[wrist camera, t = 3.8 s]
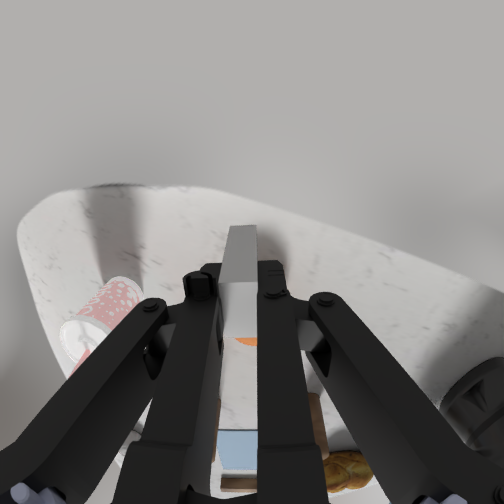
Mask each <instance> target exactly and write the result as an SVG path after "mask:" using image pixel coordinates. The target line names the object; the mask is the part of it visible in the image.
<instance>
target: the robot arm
mask: <svg viewBox="0 0 504 504" xmlns="http://www.w3.org/2000/svg"><path fill="white" fill-rule="evenodd" d="M183 285H184V291H185V296H186V297H185V299H184V302H183V303H180V304H177V305H172V306H167V305H166V302H165V301H164V300H163V299H160V298H148V299H145V300H143V301H141V302H139V303H138V304H137V305H136V306H135V307H134V308H133V309H132V310H131V311H130V312H129V313H128V314H127V315H126V316H125V317H124V318H123V320H122V321H121V322H120V323H119V324H118V325H117V326H116V327H115V328H114V329H113V330H112V331H111V332H110V333H109V334H108V336H107V337H106V338H105V339H104V340H103V341H102V342H101V343H100V344H99V345H98V346H97V347H96V349H95V350H94V351H93V352H92V353H91V354H90V355H89V356H88V357H87V358H86V359H85V361H84V362H83V363H82V364H81V365H80V366H79V367H78V368H77V369H76V371H75V372H74V373H73V374H72V375H71V376H70V377H69V378H68V380H67V381H66V382H65V383H64V384H63V385H62V386H61V388H60V389H59V390H58V391H57V392H56V393H55V394H54V396H53V397H52V398H51V399H50V400H49V401H48V403H47V404H46V405H45V406H44V407H43V408H42V410H41V411H40V412H39V413H38V414H37V416H36V417H35V418H34V419H33V420H32V422H31V423H30V424H29V425H28V426H27V428H26V429H25V430H24V431H23V432H22V434H21V435H20V436H19V437H18V439H17V440H16V441H15V442H14V443H12V444H11V445H9V446H8V447H6V448H5V449H3V450H1V451H0V504H84V503H85V502H86V501H87V500H88V498H89V497H90V496H91V494H92V493H93V491H94V490H95V488H96V487H97V485H98V483H99V482H100V480H101V479H102V477H103V475H104V474H105V472H106V471H107V469H108V467H109V466H110V464H111V463H112V461H113V459H114V458H115V456H116V455H117V453H118V451H119V450H120V448H121V447H122V445H123V443H124V442H125V440H126V439H127V437H128V435H129V434H130V432H131V431H132V429H133V428H134V426H135V424H136V423H137V421H138V420H139V418H140V416H141V415H142V413H143V412H144V410H145V408H146V407H147V405H148V404H149V402H150V400H151V399H152V401H151V405H150V408H149V412H148V415H147V418H146V422H145V425H144V429H143V432H142V436H141V438H140V439H139V440H138V441H132V442H131V443H130V444H129V446H128V448H127V451H126V454H125V458H124V461H123V464H122V468H121V472H120V475H119V479H118V482H117V486H116V490H115V493H114V498H113V501H112V503H111V504H331V503H329V501H328V493H327V486H326V479H325V472H324V465H323V459H322V453H321V449H320V447H319V445H317V444H316V442H315V437H314V431H313V424H312V418H311V411H310V405H309V399H308V392H307V386H306V380H305V374H304V368H303V362H302V357H301V351H300V350H304V351H305V353H306V356H307V358H308V360H309V362H310V363H311V365H312V367H313V369H314V370H315V372H316V374H317V376H318V377H319V379H320V381H321V383H322V384H323V386H324V388H325V390H326V391H327V393H328V395H329V397H330V398H331V400H332V402H333V404H334V405H335V407H336V409H337V411H338V412H339V414H340V416H341V418H342V420H343V421H344V423H345V425H346V427H347V428H348V430H349V432H350V434H351V435H352V437H353V439H354V441H355V442H356V444H357V446H358V447H359V449H360V451H361V453H362V454H363V456H364V458H365V460H366V461H367V463H368V465H369V467H370V468H371V470H372V472H373V474H374V475H375V477H376V479H377V481H378V482H379V484H380V486H381V488H382V489H383V491H384V493H385V495H386V496H387V498H388V499H389V500H390V503H389V504H504V358H494V359H491V360H488V361H486V362H484V363H482V364H480V365H479V366H477V367H476V368H474V369H473V370H471V371H470V372H469V373H468V374H466V375H465V376H464V377H463V378H462V379H461V380H460V381H458V382H457V383H456V384H455V386H454V387H453V388H452V389H451V390H450V391H449V392H448V394H447V395H446V396H445V398H444V400H443V401H442V403H441V406H440V409H439V411H438V409H437V408H436V407H435V406H434V405H433V403H432V402H431V401H430V400H429V398H428V397H427V396H426V395H425V394H424V392H423V391H422V390H421V389H420V388H419V386H418V385H417V384H416V383H415V382H414V381H413V379H412V378H411V377H410V376H409V375H408V373H407V372H406V371H405V370H404V369H403V368H402V366H401V365H400V364H399V363H398V362H397V361H396V359H395V358H394V357H393V356H392V355H391V354H390V352H389V351H388V350H387V349H386V348H385V347H384V345H383V344H382V343H381V342H380V341H379V340H378V339H377V337H376V336H375V335H374V334H373V333H372V332H371V331H370V329H369V328H368V327H367V326H366V325H365V324H364V323H363V322H362V320H361V319H360V318H359V317H358V316H357V315H356V314H355V313H354V311H353V310H352V309H351V308H350V307H349V306H348V305H347V304H346V302H345V301H344V300H343V299H342V298H341V297H340V296H338V295H336V294H334V293H331V292H319V293H316V294H313V295H312V296H311V297H310V299H309V301H304V300H299V299H296V298H294V297H292V296H291V295H290V292H289V291H288V290H287V286H286V281H285V275H284V270H283V265H282V264H281V263H280V262H279V261H278V260H267V261H258V258H257V233H256V225H244V226H230V229H229V233H228V238H227V243H226V247H225V252H224V257H223V262H222V263H206V264H205V265H204V266H203V267H201V269H200V271H194V272H191V273H188V274H187V275H185V276H184V277H183ZM223 331H224V338H253V337H257V416H258V448H257V493H253V494H249V495H244V496H239V497H234V498H229V499H218V498H215V497H211V494H210V474H211V464H212V453H213V443H214V433H215V423H216V414H217V404H218V395H219V386H220V376H221V367H222V358H223V350H224V343H223ZM145 347H146V349H145ZM144 349H145V350H144ZM152 397H153V398H152ZM462 440H463V441H462Z"/></svg>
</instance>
